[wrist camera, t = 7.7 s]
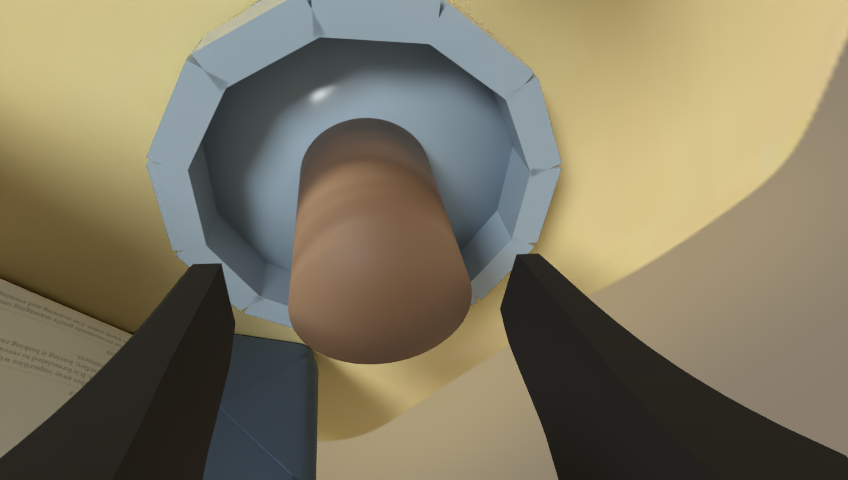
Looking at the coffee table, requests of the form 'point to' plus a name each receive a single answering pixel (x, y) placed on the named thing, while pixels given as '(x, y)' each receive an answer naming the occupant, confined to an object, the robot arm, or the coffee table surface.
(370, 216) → the brown cylinder
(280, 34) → the round tray
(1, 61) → the coffee table surface
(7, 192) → the coffee table surface
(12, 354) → the skincare box
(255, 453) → the vaping device
